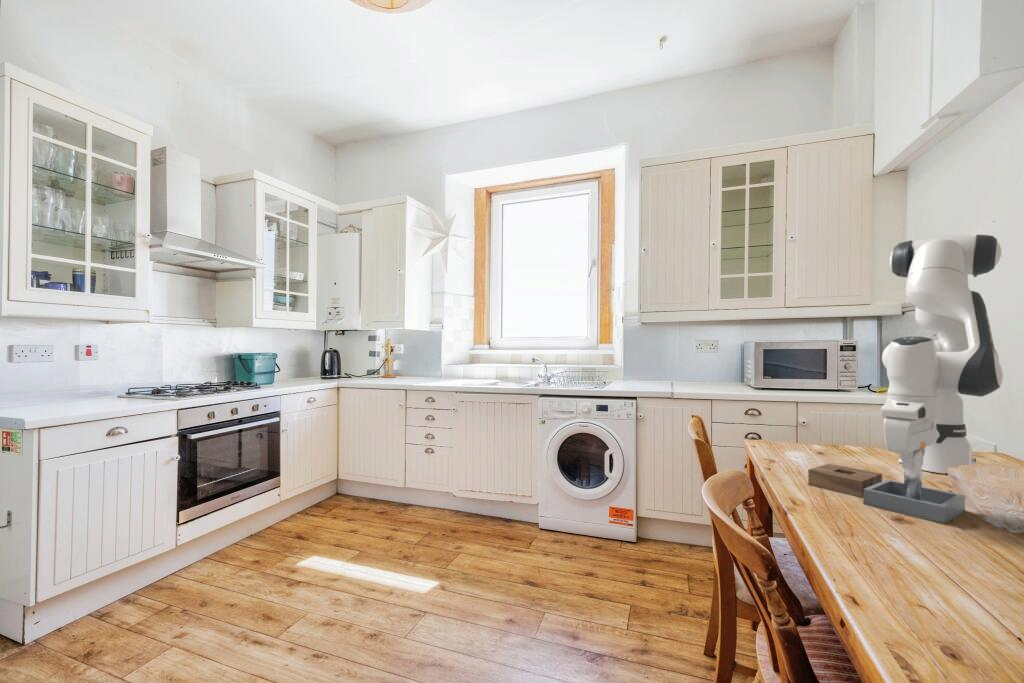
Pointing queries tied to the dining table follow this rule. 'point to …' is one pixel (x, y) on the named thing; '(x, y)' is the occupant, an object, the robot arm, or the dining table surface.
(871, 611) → the dining table surface
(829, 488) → the block
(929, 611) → the dining table surface
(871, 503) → the tray
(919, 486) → the clear capped tube
